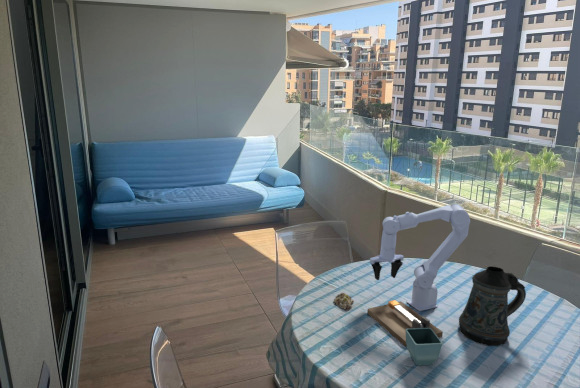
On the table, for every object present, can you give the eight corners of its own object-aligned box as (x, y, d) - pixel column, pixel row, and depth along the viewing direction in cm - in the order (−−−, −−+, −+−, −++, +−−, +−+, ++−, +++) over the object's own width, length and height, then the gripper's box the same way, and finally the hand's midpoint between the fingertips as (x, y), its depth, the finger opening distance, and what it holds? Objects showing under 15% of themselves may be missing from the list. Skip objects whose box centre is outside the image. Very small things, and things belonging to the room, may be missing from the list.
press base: (400, 305, 159) (402, 290, 158) (442, 336, 139) (444, 319, 137) (367, 313, 153) (368, 297, 152) (405, 346, 133) (407, 328, 131)
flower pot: (402, 352, 130) (404, 328, 128) (428, 351, 131) (430, 327, 128) (412, 370, 121) (415, 344, 119) (440, 369, 122) (443, 343, 120)
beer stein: (447, 325, 146) (455, 263, 140) (485, 315, 153) (494, 255, 147) (485, 351, 131) (495, 282, 125) (525, 338, 138) (536, 273, 133)
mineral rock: (330, 293, 165) (348, 287, 165) (332, 301, 166) (351, 296, 166) (336, 307, 154) (355, 301, 155) (338, 316, 156) (358, 310, 156)
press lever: (394, 304, 152) (394, 300, 152) (425, 329, 137) (426, 324, 136) (387, 305, 151) (388, 301, 151) (418, 331, 136) (419, 326, 135)
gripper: (377, 252, 151) (374, 284, 154) (409, 248, 156) (405, 280, 159) (368, 245, 158) (365, 276, 161) (399, 242, 162) (395, 272, 165)
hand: (385, 278), depth 160 cm, fingers open, 7 cm apart
